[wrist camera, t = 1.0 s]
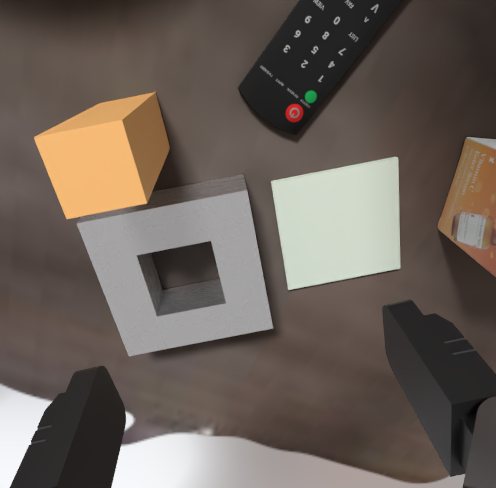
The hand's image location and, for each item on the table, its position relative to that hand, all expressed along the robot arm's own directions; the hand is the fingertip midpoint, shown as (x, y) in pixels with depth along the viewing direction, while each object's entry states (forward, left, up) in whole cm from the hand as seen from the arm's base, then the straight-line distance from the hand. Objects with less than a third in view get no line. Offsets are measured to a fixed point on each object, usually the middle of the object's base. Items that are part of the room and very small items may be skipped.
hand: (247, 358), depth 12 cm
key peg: (-4, -6, -22) cm, 23 cm away
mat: (+7, +8, -22) cm, 25 cm away
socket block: (+7, -5, -22) cm, 24 cm away
